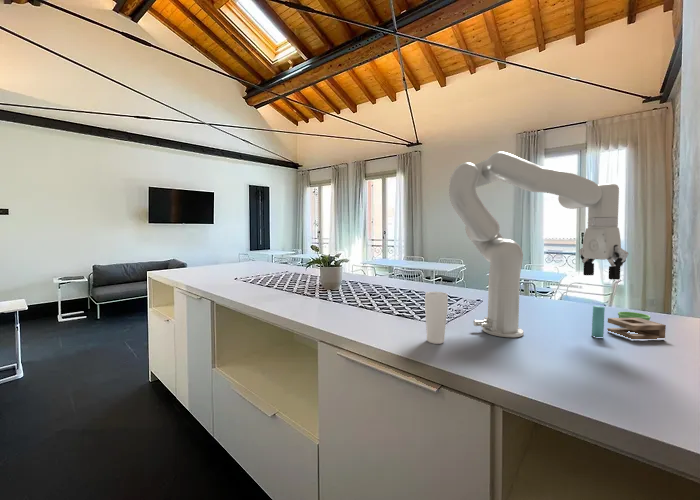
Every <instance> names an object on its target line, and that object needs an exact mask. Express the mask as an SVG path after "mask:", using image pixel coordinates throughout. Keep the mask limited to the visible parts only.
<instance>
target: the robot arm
mask: <svg viewBox="0 0 700 500" xmlns="http://www.w3.org/2000/svg"><path fill="white" fill-rule="evenodd" d="M497 181H502V182H505V183H508V184H510V185H512V186H514V187H516V188H519V189H521V190H524V191H526V192H530V193H531V192H532V193H543V194H544V193H547V194H551V195H555V196H558V203H559V204H560V206H562V207H564V208H566V209H569V210H570V209H572V210H574V209H575V210H576V209H582V208H587V209H588V213H587V215H588V217H587V228H585V231H584V235H583V241H582V247H581V248H579V250H578V252H579V257H580V259H581V260H582V261H581V262H582V264H583V271H582V272H583V273H582V274H583V276H594V274H595V273H594V272H595V263H593V262H594V261H595V260H601V261H602V260H607V262H608V264H609V265H610V266H608V279H609V280H620V279H621V267H623V265H624V263H625V262H626V261H627V258H628V256H629V252H628V251H627V250H625V249H623V248H622V242H621V233H620V228H619V202H620V200H619V198H620V197H619V196H620V187H619V186H618V184H616V183H601V184H597V182H594V181H593V180H590V179H589V178H586V177H583V176H581V175H578V174H577V173H572V172H569V171H565V170H561V169H554V168H551V167H546V166H541V165H539V164H537V163H534V162H531V161H529V160H526V159H524V158H521V157H520V156H519V157H518V156H517V155H514V154H512V153H509V152H506V151H496V152H494V153H492V154H491V155H490V156H489V157H488V158H487V159H485V160H483V161H479V162H477V163H472V162H469V161H468V162H462V163H461V164H458V165H457V166H456V168H455V169H454V170H453V172H452V173H451V174H450V177H449V186H448V187H449V188H448V197H449V201H450V204H451V205H452V207H453V210H454V212H456V214H457V215H458V217H459V218H460V220H461V221H462V222H463V223H464V225H465V229H464V230H465V233H466V235H467V237H468V239H469V240H470V241H471V243H472V244H473V245H474V246H475V248H476V249H477V250H478V251H479V253H480V254H481V255H482V256H483V258H484V259H485V260H486V261H487V262H488V263H490V264H489V265H490V266H489V271H488V283H487V284H488V285H487V286H488V287H487V288H488V291H487V293H488V295H487V316H484V318H483V319H482V320H479V319H474V320H473V326H474V327H481V328H482V331H483V332H484V333H486V334H488V335H491V336H497V337H500V338H519V337H522V336H524V330H523V329H522V328H520V327H519V319H520V290H521V289H520V288H521V287H520V283H521V272H522V271H521V270H522V265H523V261H524V260H523V259H524V257H523V256H524V254H523V249H522V247H521V246H520V244H519V243H518V242H517V241H515V240H512V239H509V238H504V237H503V235H502V234H501V233H500V224H499V222H498V220H497V219H496V217H495V216H493V214H492V213H491V211H489V209H488V207H486V206H485V205H484V203H483V202H482V200H481V199H480V197H479V196H478V193H477V188H481V187H483V186H486V185H489V184H492V183H494V182H497Z"/></svg>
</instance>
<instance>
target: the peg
mask: <svg viewBox="0 0 700 500" xmlns="http://www.w3.org/2000/svg"><path fill="white" fill-rule="evenodd" d="M605 308H606V307H605V306H601V305H593V306H592V320H591V321H592V323H591V337H592V336H595V337H603V338H604V333H605V332H604V330H605V327H604V326H605V311H606V310H605Z"/></svg>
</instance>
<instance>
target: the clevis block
mask: <svg viewBox="0 0 700 500" xmlns="http://www.w3.org/2000/svg"><path fill="white" fill-rule="evenodd" d="M607 323H608V324H611V325H614V326H617V327H609V328H606V329H607V330H608V331H611V332H614V333H617V334H620V335H623V336H625V337H628V338H631V339H657V338H665V339H666V328H667V327H666V324H664V323H661V322H656V321H653V320H645V319H642V318H619V317H607ZM628 331H630V332H635V333H638V334H630V333H627V332H628Z"/></svg>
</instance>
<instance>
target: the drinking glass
mask: <svg viewBox="0 0 700 500" xmlns="http://www.w3.org/2000/svg"><path fill="white" fill-rule="evenodd" d="M448 302H449V297H448V293H446V292H441V291H427V292H425V294H424V312H425V313H424V314H425V326H426V341H427V342H428V343H430V344H434V345H439V344H440V345H441V344H443V343H445V340H446V339H445V338H446V337H445V336H446V334H445V333H446V325H447V319H448V318H447V316H448V304H449V303H448Z"/></svg>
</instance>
